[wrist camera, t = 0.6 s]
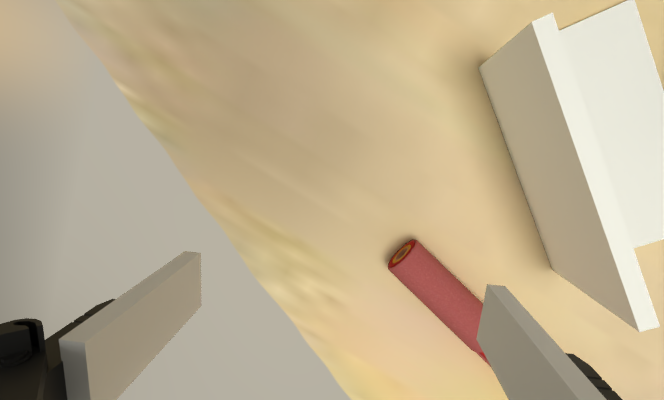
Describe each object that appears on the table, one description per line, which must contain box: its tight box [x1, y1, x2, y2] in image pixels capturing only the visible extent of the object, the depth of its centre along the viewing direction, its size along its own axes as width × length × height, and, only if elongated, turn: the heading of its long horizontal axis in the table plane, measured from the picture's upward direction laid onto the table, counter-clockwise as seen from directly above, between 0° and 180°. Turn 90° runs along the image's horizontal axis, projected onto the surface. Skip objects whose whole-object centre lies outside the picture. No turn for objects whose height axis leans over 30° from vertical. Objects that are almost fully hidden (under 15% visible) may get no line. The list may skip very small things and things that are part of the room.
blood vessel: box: [388, 240, 491, 366], centre depth 41 cm, size 42×5×5 cm, turn 46°
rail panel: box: [478, 0, 664, 332], centre depth 31 cm, size 26×16×14 cm, turn 23°
